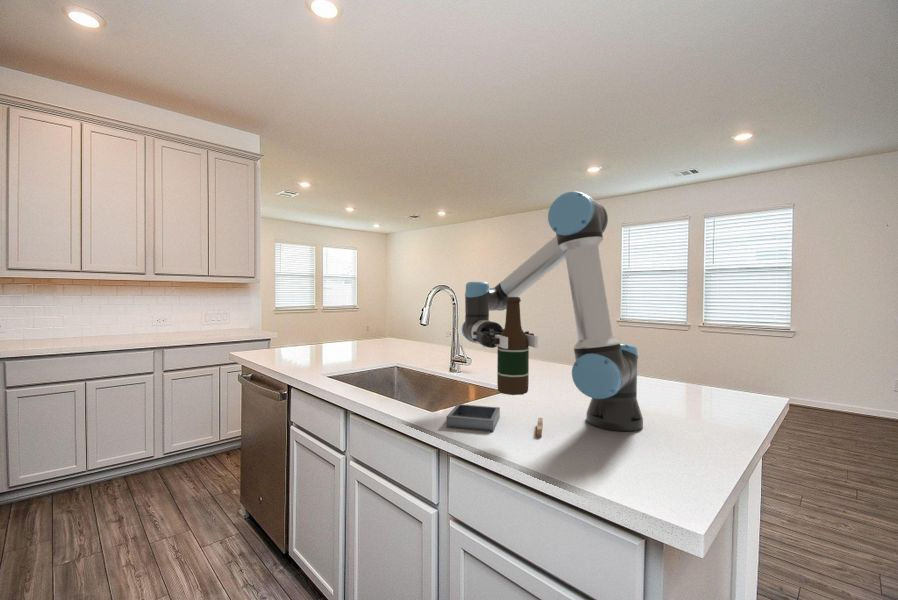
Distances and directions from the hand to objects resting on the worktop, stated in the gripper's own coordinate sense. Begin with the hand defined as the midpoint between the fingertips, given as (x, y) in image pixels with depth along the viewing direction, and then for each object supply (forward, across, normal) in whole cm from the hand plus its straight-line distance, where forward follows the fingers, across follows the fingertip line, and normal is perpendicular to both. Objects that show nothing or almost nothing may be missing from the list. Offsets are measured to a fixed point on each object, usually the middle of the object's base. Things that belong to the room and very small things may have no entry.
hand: (521, 342), depth 97 cm
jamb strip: (-10, -10, -25) cm, 29 cm away
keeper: (-21, +5, -25) cm, 33 cm away
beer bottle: (-5, 0, -13) cm, 14 cm away
